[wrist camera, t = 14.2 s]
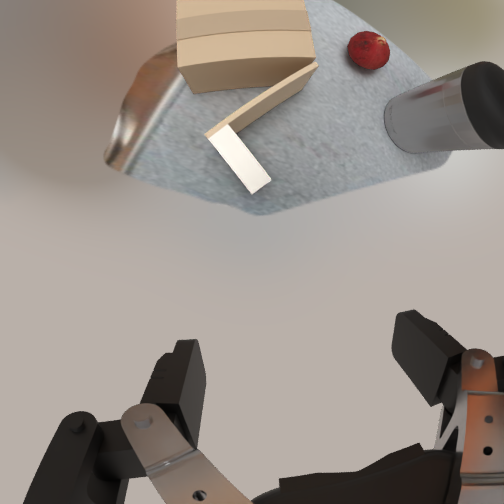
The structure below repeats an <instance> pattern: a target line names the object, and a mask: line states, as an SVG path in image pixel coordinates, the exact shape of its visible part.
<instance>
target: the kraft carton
mask: <svg viewBox="0 0 504 504" xmlns="http://www.w3.org/2000/svg"><path fill="white" fill-rule="evenodd" d="M176 30H177V31H176V32H177V33H176V36H177V61H178V69H179V70H180V72H181V74H182V75H183V77H184V79H185V80H186V82H187V84H188V86H189V87H190V89H191V91H192V92H193V94H197V93H204V92H211V91H219V90H228V89H238V88H250V87H266V86H274V85H276V84H278V83H279V82H281V81H282V80H284V79H286V78H287V77H289V76H291V75H292V74H294V73H296V72H298V71H299V70H301V69H303V68H305V67H306V66H308V65H310V64H312V63H313V61H314V60H315V58H316V55H315V50H314V45H313V40H312V35H311V27H310V23H309V18H308V14H307V11H306V8H305V4H304V0H177V20H176Z"/></svg>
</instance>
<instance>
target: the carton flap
mask: <svg viewBox="0 0 504 504" xmlns="http://www.w3.org/2000/svg"><path fill="white" fill-rule="evenodd" d="M318 66H319V65H318V64H317V63H316V62H313V63H312V64H310V65H308V66H306V67H305V68H303V69H301V70H299V71H298V72H296V73H294V74H292V75H291V76H289V77H287V78H286V79H284V80H282V81H281V82H279V83H278V84H276V85H274V86H273V87H271V88H270V89H268V90H266V91H265V92H263V93H262V94H260V95H259V96H257V97H256V98H254V99H253V100H251V101H250V102H248V103H247V104H245V105H244V106H242V107H241V108H239V109H238V110H237V111H235V112H234V113H232V114H231V115H230V116H228V117H227V118H225V119H224V120H223V121H221V122H220V123H219V124H217V125H216V126H215V127H213V128H212V129H211V130H209V131H208V132H207V133H205V134H204V135H205V136H206V137H207V138H208V139H209V141H210V142H211V143H212V144H213V146H214V147H215V148H216V149H217V151H218V152H219V153H220V154H221V156H222V157H223V158H224V159H225V161H226V162H227V163H228V164H229V166H230V167H231V168H232V170H233V171H234V172H235V173H236V175H237V176H238V177H239V178H240V180H241V181H242V182H243V184H244V185H245V186H246V187H247V189H248V190H249V191H250V193H251V194H253V193H255V192H256V191H257V190H259V189H260V188H261V187H263V186H264V185H265V184H267V183H268V182H269V181H271V180H272V179H271V178H270V177H269V175H268V174H267V173H266V172H265V170H264V169H263V168H262V166H261V165H260V164H259V162H258V161H257V160H256V159H255V157H254V156H253V155H252V153H251V152H250V151H249V150H248V148H247V147H246V146H245V145H244V143H243V142H242V141H241V140H240V138H239V137H238V136H237V135H236V134H237V133H238V132H239V131H241V130H242V129H244V128H245V127H246V126H248V125H249V124H251V123H252V122H253V121H255V120H256V119H258V118H259V117H261V116H262V115H264V114H265V113H267V112H268V111H269V110H271V109H272V108H274V107H275V106H277V105H279V104H280V103H282V102H283V101H285V100H286V99H288V98H289V97H291V96H293V95H294V94H296V93H297V92H299V91H301V90H302V89H303V87H304V86H305V84H306V83H307V82H308V80H309V79H310V77H311V76H312V75H313V73H314V72H315V70H316V69H317V68H318Z"/></svg>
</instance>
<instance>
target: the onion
mask: <svg viewBox="0 0 504 504" xmlns="http://www.w3.org/2000/svg"><path fill="white" fill-rule="evenodd" d="M347 47H348V52H349V56H350V57H351V59H352V60H353V61H354V62H355V63H356V64H358V65H359V66H361V67H364V68H366V69H373V70H374V69H378V68H381V67H383V66H384V65H385V64H386V63H387V62H388V60H389V56H390V50H389V46H388V44H387V42H386V39H385V38H384V37H381V36H380V35H378V34H376V33H374V32H370V31H364V32H359V33H357V34H356V35H354V36H353V37H352V38H351V39H350V41H349V44H348V46H347Z"/></svg>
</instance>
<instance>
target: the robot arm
mask: <svg viewBox="0 0 504 504" xmlns="http://www.w3.org/2000/svg"><path fill="white" fill-rule="evenodd" d="M384 118H385V125H386V129H387V131H388V134H389V136H390V137H391V139H392V140H393V142H394V143H395V144H396V145H397V146H398V147H399V148H401V149H402V150H404V151H406V152H409V153H423V152H438V151H453V150H475V149H504V70H503V69H502V68H500V67H499V66H497V65H496V64H494V63H491V62H485V61H484V62H478V63H475V64H473V65H470V66H467V67H465V68H462V69H460V70H457V71H455V72H452V73H450V74H447V75H445V76H442V77H440V78H437V79H435V80H432V81H430V82H428V83H425V84H423V85H421V86H418V87H416V88H414V89H412V90H409V91H407V92H405V93H403V94H400V95H398V96H396V97H394V98H393V99H391V100H390V101H389V103H388V104H387V106H386V109H385V114H384ZM392 353H393V356H394V358H395V360H396V361H397V362H398V364H399V365H400V366H401V368H402V369H403V370H404V371H405V373H406V374H407V375H408V377H409V378H410V379H411V381H412V382H413V383H414V385H415V386H416V387H417V389H418V390H419V391H420V393H421V394H422V396H423V397H424V398H425V400H426V401H427V402H428V404H429V405H430V406H431V407H432V406H434V405H436V404H439V403H441V402H442V403H443V407H442V409H441V413H440V419H439V426H438V431H437V437H436V442H435V446H434V449H432V450H423V448H422V447H421V445H420V443H417V444H414V445H412V446H409V447H407V448H404V449H401V450H399V451H396V452H393V453H390V454H388V455H386V456H385V457H383V458H382V459H380V460H378V461H376V462H375V463H373V464H371V465H369V466H367V467H365V468H363V469H362V470H359V471H356V472H341V473H313V474H308V475H302V476H295V477H288V478H280V479H279V488H276V489H273V490H270V491H268V492H265V493H263V494H261V495H259V496H257V497H256V498H254V499H253V500H251V501H250V500H249V499H248V498H246V497H245V496H244V495H243V494H242V493H241V492H240V491H239V490H238V489H237V488H236V487H235V486H234V485H233V484H232V483H230V481H228V480H227V479H226V478H225V477H224V475H223V474H222V473H220V471H219V470H218V469H217V468H216V467H214V465H213V464H212V463H211V462H210V461H209V460H208V459H207V458H206V457H205V455H204V454H203V453H202V452H201V451H200V450H198V449H197V445H198V437H199V430H200V422H201V415H202V409H203V402H204V395H205V388H206V373H205V368H204V364H203V360H202V356H201V351H200V347H199V343H198V340H197V339H190V340H178V341H177V343H176V345H175V348H174V351H173V353H165V354H164V355H163V356H162V357H161V358H160V359H159V360H158V361H157V363H156V365H155V368H154V371H153V373H152V375H151V379H150V380H149V382H148V384H147V387H146V389H145V392H144V394H143V397H142V400H141V402H140V404H138V405H134V406H132V407H130V408H129V409H128V410H126V411H125V412H124V414H123V415H122V417H121V419H120V420H114V421H107V422H97V420H96V418H95V417H94V416H93V415H92V414H90V413H88V412H84V411H79V412H74V413H71V414H69V415H68V416H66V417H65V418H64V419H63V420H62V422H61V423H60V425H59V427H58V429H57V431H56V433H55V435H54V437H53V439H52V441H51V443H50V444H49V446H48V449H47V451H46V453H45V455H44V457H43V459H42V461H41V463H40V465H39V468H38V470H37V472H36V474H35V476H34V478H33V481H32V483H31V486H30V488H29V490H28V492H27V495H26V497H25V500H24V502H23V504H124V501H125V496H126V491H127V487H128V482H129V478H138V477H146V476H148V477H149V479H150V480H151V482H152V484H153V485H154V487H155V488H156V490H157V491H158V493H159V494H160V496H161V497H162V499H163V500H164V502H165V503H166V504H504V356H500V357H494V358H493V357H492V356H491V355H490V354H489V353H488V352H486V351H484V350H482V349H469V350H467V349H465V348H464V347H463V346H462V345H461V344H460V343H459V342H458V341H456V340H455V339H454V338H453V337H452V336H451V335H448V333H447V332H446V331H445V330H443V328H441V327H440V326H439V325H438V324H437V323H436V322H433V321H431V320H429V319H427V318H424V317H423V316H422V315H421V314H420V313H419V312H417V311H416V310H410V311H405V312H400V313H398V314H397V316H396V321H395V327H394V334H393V340H392Z"/></svg>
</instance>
